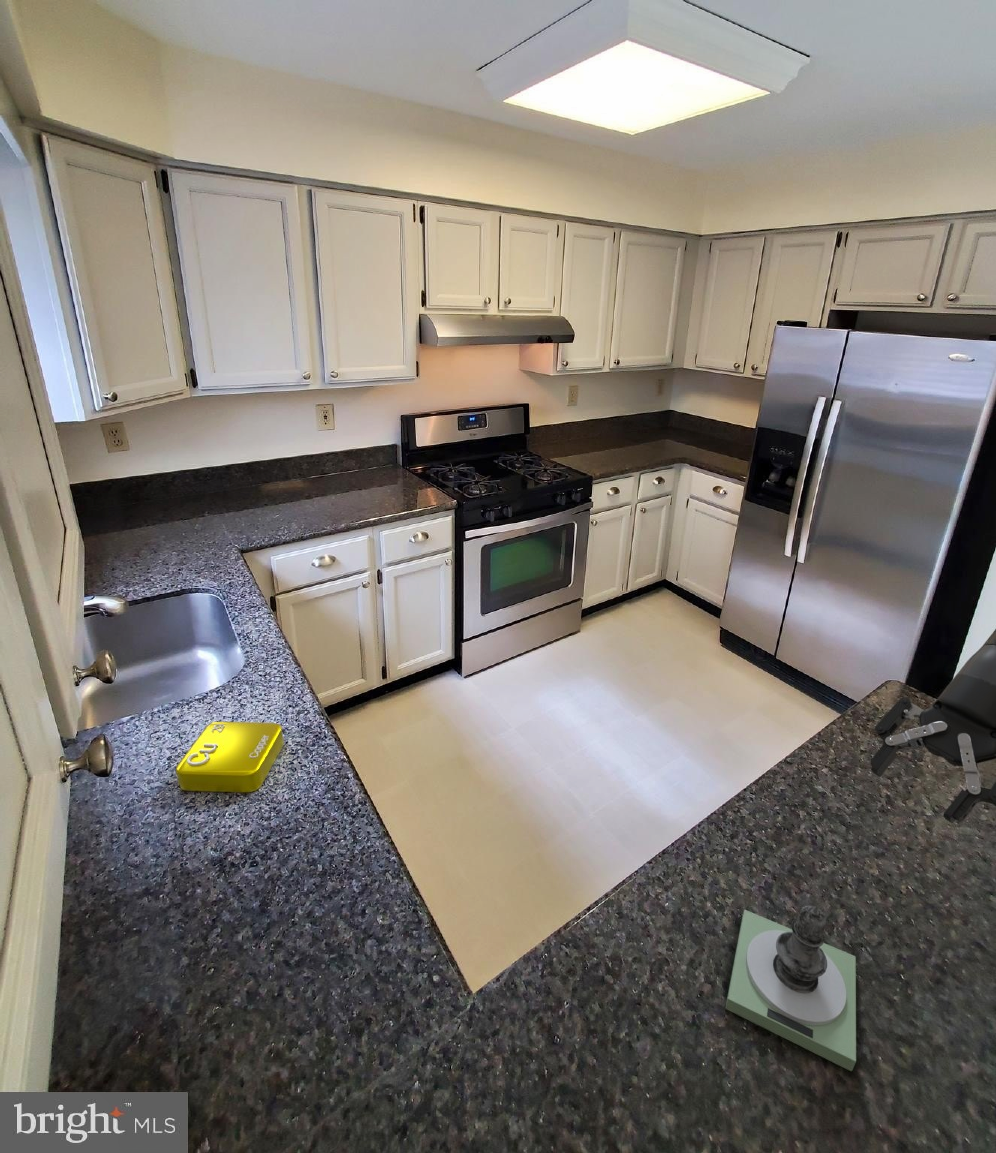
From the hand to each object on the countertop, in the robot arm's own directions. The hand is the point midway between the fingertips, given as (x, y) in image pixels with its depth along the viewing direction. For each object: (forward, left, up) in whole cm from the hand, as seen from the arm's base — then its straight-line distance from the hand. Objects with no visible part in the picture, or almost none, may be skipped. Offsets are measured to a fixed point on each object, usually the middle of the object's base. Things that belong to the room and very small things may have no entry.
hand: (909, 795), depth 72 cm
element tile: (+104, +18, -27) cm, 109 cm away
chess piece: (+7, +11, -24) cm, 27 cm away
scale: (+7, +11, -27) cm, 30 cm away
